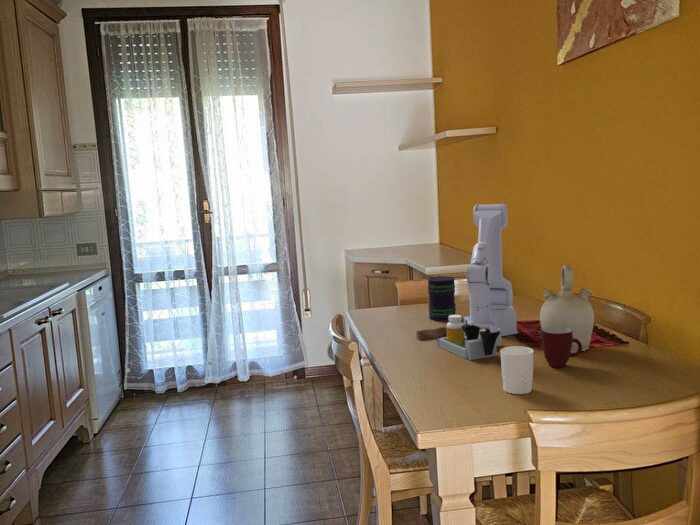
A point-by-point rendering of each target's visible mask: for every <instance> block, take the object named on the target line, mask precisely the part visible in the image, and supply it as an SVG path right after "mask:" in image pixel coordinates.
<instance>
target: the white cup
mask: <svg viewBox="0 0 700 525" xmlns="http://www.w3.org/2000/svg"><path fill="white" fill-rule="evenodd" d="M499 352H500V364H501V366H500V367H501V368H500V369H501V378H502V386H503V387H502V388H503V391H504V392H505V393H509V394H511V393H512V394H513V395H525V394H529V393H531V392H532V389H533V387H532V386H533V379H534V377H533V376H534V353H535V352H534V349H533V348H532V347H531V348H530V347H528V346H521V345H519V346H517V345H513V346H506V347H503V348H500V350H499Z"/></svg>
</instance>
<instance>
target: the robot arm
mask: <svg viewBox="0 0 700 525" xmlns="http://www.w3.org/2000/svg"><path fill="white" fill-rule="evenodd" d="M472 211H473V212H472V219H473V223H474V224H475V227H476V228H478V235H477V236H478V237H477V243H475V245H474V246H473V248H472V253H471V258H470V264H469V265H467V267H466V271H465V272H466V275H465V276H466V282H467V290H468V291H469V292H468V293H469V294H468V295H469V315H465V316H463V323H466V325H463V326H462V329H463V330H464V332H465V334H466V337H467V340H474V339H478V335H479V333H480V335H481V338H482V341H483V347H484V354H485V355H486V356H487V355H492V353H493V349H494V345H495V342H496V339H497V337H498V336H499V334H500V331H498V328H499V329H501V337H504V336H505V337H507V336H511V335H518V334H519V331H518V330H517V328H518V326H517V312H516V309H515V308H514V307H513V302H514V301H513V300H514V293H513V292H514V291H513V284H512V282H511V281H509V279H506V278H505V277H504V276H503V274H504V273H503V250H502V248H503V247H502V244H503V243H502V233H503V232H502V231H503V229H505V228H507V227H508V224H509V218H508V217H509V215H508V212H509V211H508V206H507V204H506V203H499V204H498V203H494V204H492V203H491V204H490V203H489V204H478V203H476V204H475V205H474V206H473V210H472ZM481 329H482V330H485V329H486V331H481V332H479V330H481ZM517 333H518V334H517Z"/></svg>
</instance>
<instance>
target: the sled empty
mask: <svg viewBox="0 0 700 525" xmlns="http://www.w3.org/2000/svg"><path fill="white" fill-rule="evenodd" d="M481 331H486V329H480V330H479V332H481ZM498 331H500V334H499V336H498V337H497V339H496V348H497V347H502V336H501V329H499V328H498ZM464 334H465V332H464ZM465 336H466V334H465ZM480 338H481V335H480V333H479V335H478V339H480Z"/></svg>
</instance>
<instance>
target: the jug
mask: <svg viewBox="0 0 700 525" xmlns="http://www.w3.org/2000/svg"><path fill="white" fill-rule="evenodd" d="M573 284H574V270H573V267H572V265H570V264H564V265H563V266H562V267H561V271H560V287H561V289H560V290H559V292H557V293H554V292H553V291H552V290H549V289H548V288H543V289H542V292H543V298H545V299H546V300H545V301H544V302H543V304H542V305H541V308H540V311H539V323H540V327H541V330H542V329H543V328H546V327H566V328H570V329H572V333H573V338H575V339H578V340H579V341H580V342H581V344H582V351H584V352H586V351H585V350H587V349H588V350H589V347H590V343H591V340H592V333H593V329H594V324H595V313H594V309H593V306H592V305H591V303H590V301H589V300H588V298H589V297H590V296H592V295H593V294H594V292H593V291H591V290H590V289H588V288H586V287H585V286H580V291H579V293H578V292H573V290H572V289H573V286H574V285H573ZM588 350H587V351H588ZM577 351H578V345H577V343H575V342H572V347H571V352H570V354H574V353H576V352H577Z"/></svg>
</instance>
